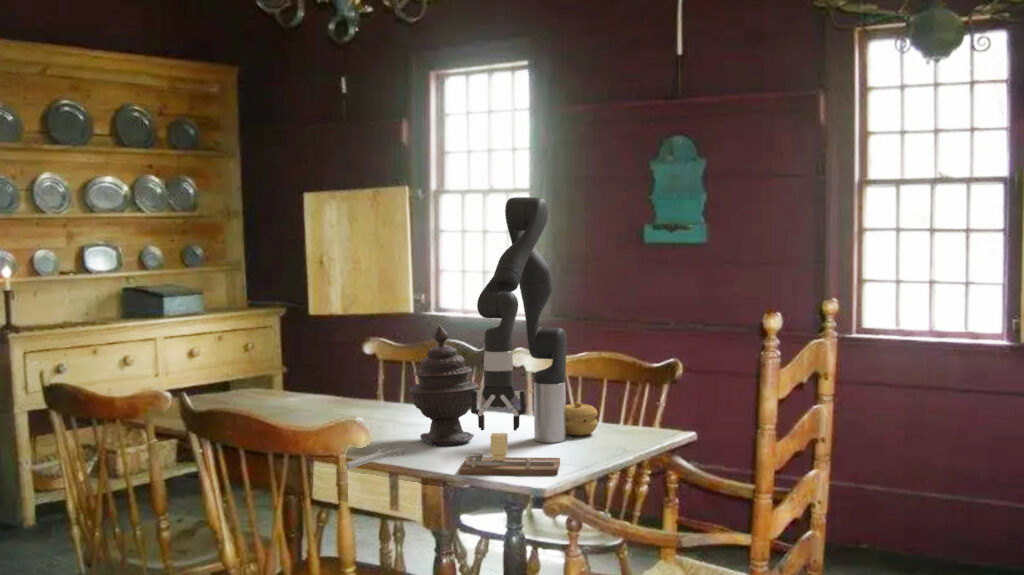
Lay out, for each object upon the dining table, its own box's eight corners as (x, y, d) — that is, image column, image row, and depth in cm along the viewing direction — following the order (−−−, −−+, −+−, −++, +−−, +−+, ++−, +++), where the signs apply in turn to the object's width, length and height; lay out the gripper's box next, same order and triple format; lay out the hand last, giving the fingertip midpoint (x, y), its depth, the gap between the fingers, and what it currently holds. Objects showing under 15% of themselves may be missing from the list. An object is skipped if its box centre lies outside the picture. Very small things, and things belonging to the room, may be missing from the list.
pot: (595, 439, 327) (595, 405, 326) (556, 437, 329) (555, 404, 329) (600, 431, 338) (599, 399, 338) (562, 430, 341) (561, 398, 340)
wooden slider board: (467, 462, 297) (466, 447, 296) (560, 463, 294) (559, 448, 294) (459, 474, 283) (459, 459, 283) (557, 475, 280) (557, 459, 280)
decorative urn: (496, 436, 329) (485, 319, 325) (455, 453, 312) (443, 330, 309) (443, 432, 340) (431, 320, 337) (400, 448, 324) (388, 330, 320)
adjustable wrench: (346, 472, 289) (346, 465, 289) (327, 469, 293) (327, 462, 293) (406, 454, 310) (406, 447, 310) (388, 451, 314) (388, 445, 314)
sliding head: (493, 458, 292) (492, 432, 292) (508, 458, 292) (507, 432, 292) (490, 464, 286) (490, 436, 286) (505, 464, 286) (505, 436, 285)
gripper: (526, 366, 290) (527, 427, 291) (473, 366, 292) (473, 427, 292) (524, 370, 283) (524, 432, 284) (469, 369, 284) (469, 432, 285)
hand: (498, 430), depth 288 cm, fingers open, 8 cm apart
